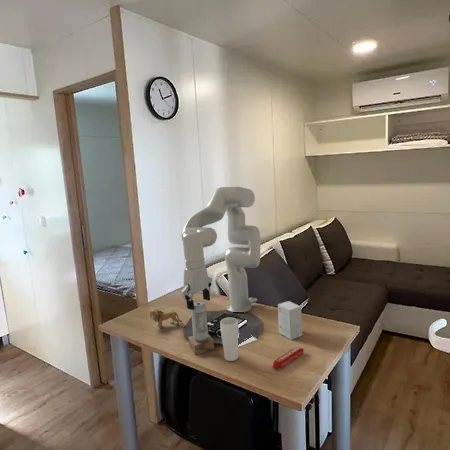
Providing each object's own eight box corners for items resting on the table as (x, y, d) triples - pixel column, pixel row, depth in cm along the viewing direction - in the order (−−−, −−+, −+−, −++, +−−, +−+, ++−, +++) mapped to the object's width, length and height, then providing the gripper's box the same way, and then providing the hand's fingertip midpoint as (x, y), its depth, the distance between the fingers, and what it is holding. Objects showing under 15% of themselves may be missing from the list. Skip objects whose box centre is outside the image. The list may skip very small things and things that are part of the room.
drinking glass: (218, 358, 138) (216, 321, 136) (231, 351, 143) (229, 315, 140) (231, 365, 134) (229, 326, 131) (244, 357, 138) (241, 320, 136)
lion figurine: (152, 331, 165) (150, 312, 163) (150, 326, 170) (148, 308, 168) (183, 324, 170) (181, 306, 168) (180, 320, 175) (179, 302, 173)
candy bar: (297, 350, 141) (297, 343, 140) (305, 354, 138) (305, 346, 138) (270, 368, 130) (270, 361, 130) (278, 372, 127) (278, 364, 127)
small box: (302, 335, 152) (301, 306, 149) (290, 340, 149) (289, 310, 146) (289, 328, 159) (289, 300, 156) (278, 332, 156) (277, 304, 153)
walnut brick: (207, 341, 152) (206, 332, 152) (214, 349, 145) (213, 340, 144) (189, 345, 149) (188, 336, 149) (195, 354, 142) (194, 345, 141)
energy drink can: (205, 333, 151) (203, 299, 148) (210, 339, 145) (207, 304, 142) (191, 336, 149) (188, 302, 146) (195, 343, 143) (192, 307, 140)
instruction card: (244, 332, 158) (244, 331, 158) (257, 339, 151) (257, 339, 151) (221, 340, 152) (221, 340, 152) (233, 349, 144) (233, 348, 144)
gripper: (202, 256, 150) (205, 294, 154) (172, 268, 137) (176, 310, 140) (216, 258, 146) (219, 298, 149) (186, 271, 132) (191, 315, 136)
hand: (198, 304), depth 145 cm, fingers open, 9 cm apart
